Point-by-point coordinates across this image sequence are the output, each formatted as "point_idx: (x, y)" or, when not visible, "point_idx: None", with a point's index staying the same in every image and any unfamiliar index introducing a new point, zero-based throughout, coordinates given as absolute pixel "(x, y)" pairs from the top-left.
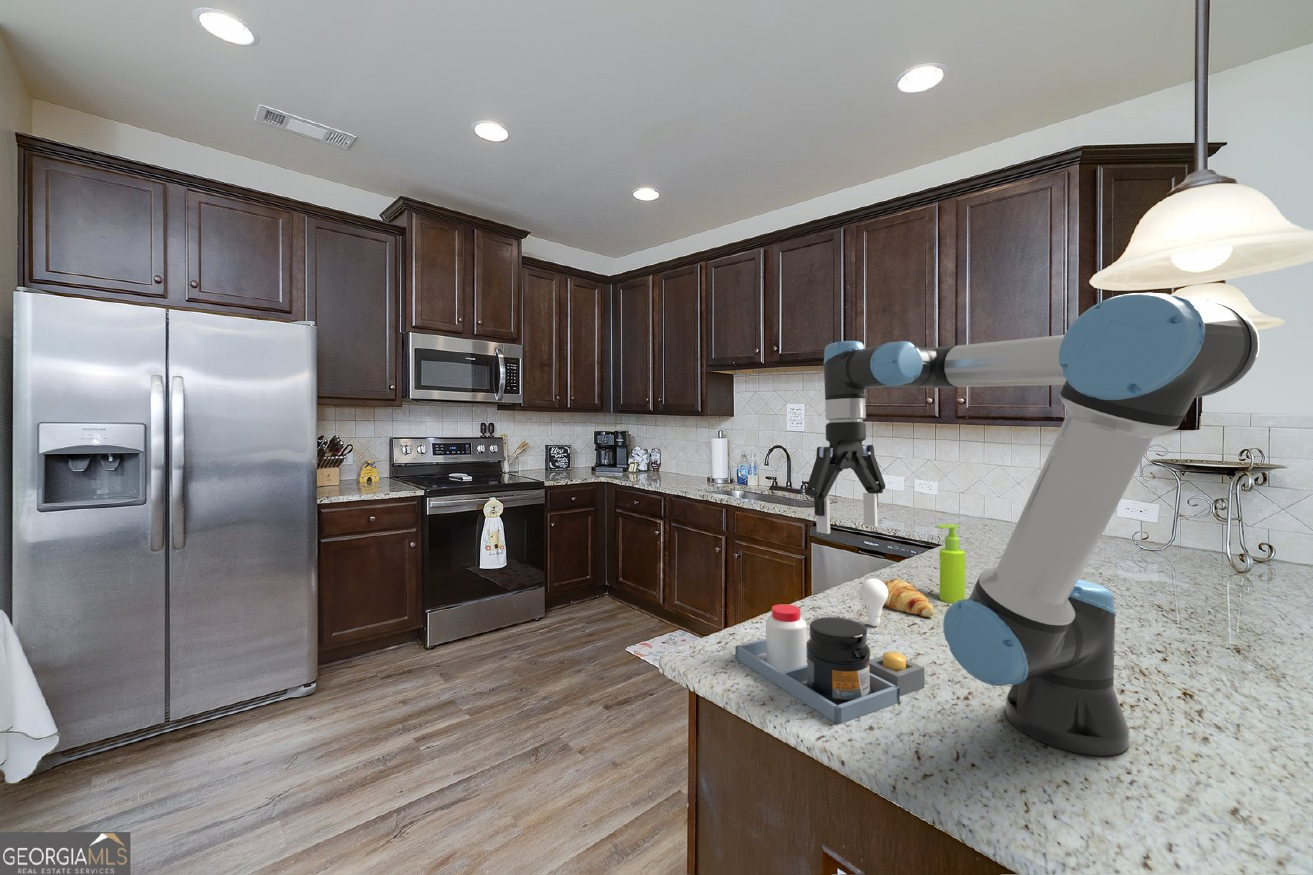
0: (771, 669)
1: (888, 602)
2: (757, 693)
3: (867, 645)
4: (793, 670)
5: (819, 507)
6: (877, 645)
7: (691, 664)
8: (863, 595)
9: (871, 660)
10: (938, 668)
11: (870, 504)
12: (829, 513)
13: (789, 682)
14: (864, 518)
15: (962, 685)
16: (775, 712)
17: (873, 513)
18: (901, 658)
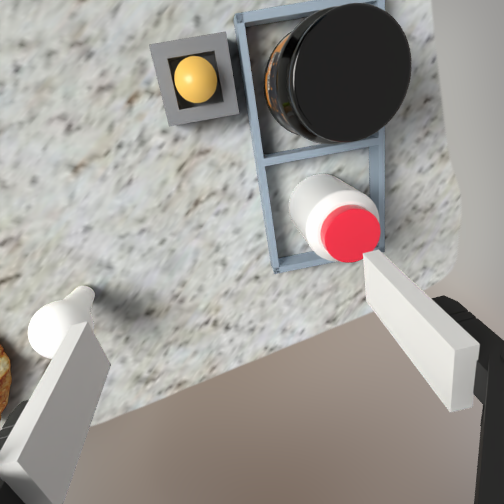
0: (383, 162)
1: (3, 357)
2: (414, 132)
3: (293, 42)
4: (359, 142)
5: (479, 322)
6: (130, 221)
7: (440, 244)
8: (92, 323)
9: (226, 111)
10: (77, 104)
11: (61, 418)
12: (408, 298)
13: None
14: (102, 382)
15: (77, 28)
16: (428, 69)
17: (70, 367)
18: (188, 66)
